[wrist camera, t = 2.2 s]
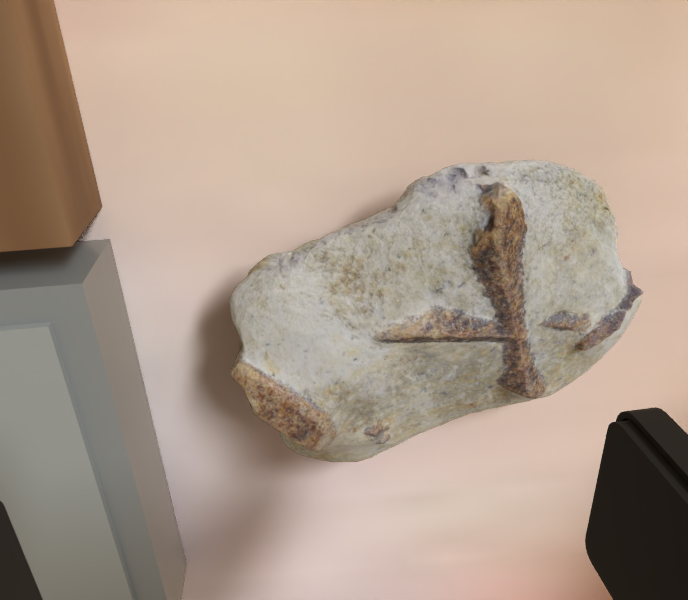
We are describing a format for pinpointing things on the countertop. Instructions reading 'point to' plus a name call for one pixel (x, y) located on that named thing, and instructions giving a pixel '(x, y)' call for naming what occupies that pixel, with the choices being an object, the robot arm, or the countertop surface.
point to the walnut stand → (40, 134)
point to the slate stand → (81, 432)
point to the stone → (433, 308)
